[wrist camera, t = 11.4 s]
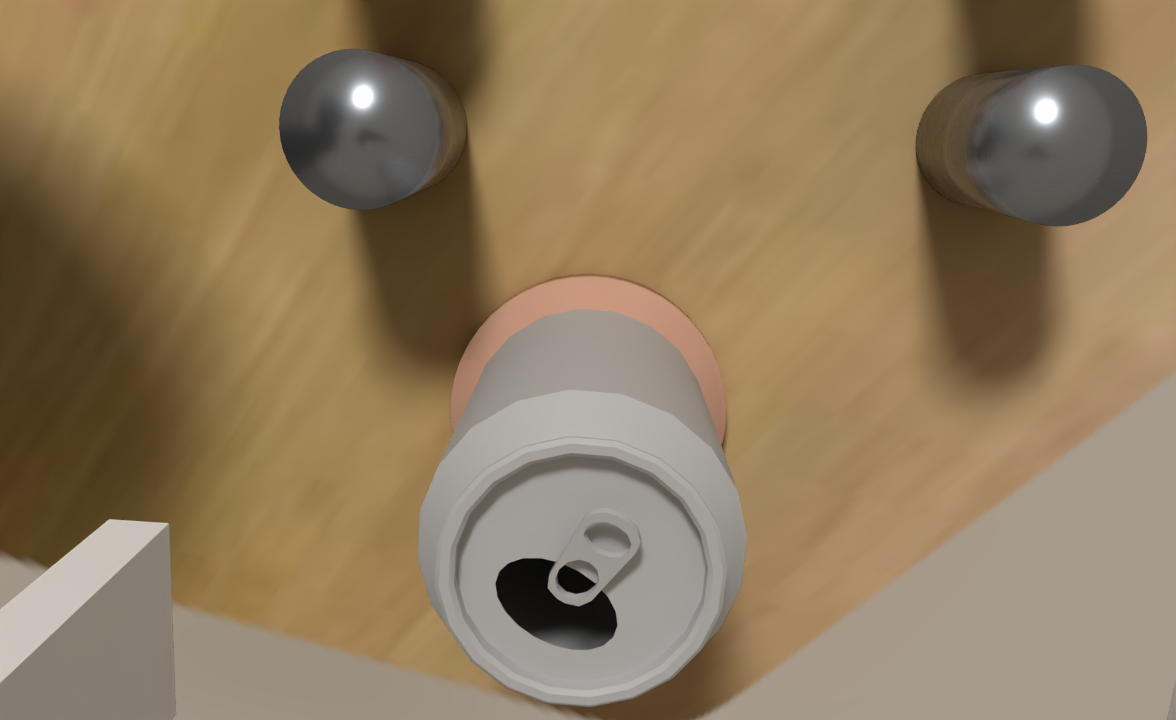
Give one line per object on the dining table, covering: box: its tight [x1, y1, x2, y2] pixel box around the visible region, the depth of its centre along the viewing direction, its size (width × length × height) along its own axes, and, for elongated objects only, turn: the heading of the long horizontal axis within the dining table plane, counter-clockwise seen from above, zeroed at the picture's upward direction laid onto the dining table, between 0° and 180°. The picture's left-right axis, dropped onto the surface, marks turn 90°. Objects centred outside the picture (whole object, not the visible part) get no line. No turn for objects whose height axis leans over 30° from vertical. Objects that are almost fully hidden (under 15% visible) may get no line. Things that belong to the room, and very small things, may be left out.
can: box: [418, 309, 747, 707], centre depth 27 cm, size 8×8×12 cm
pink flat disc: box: [450, 274, 726, 445], centre depth 33 cm, size 9×9×1 cm
